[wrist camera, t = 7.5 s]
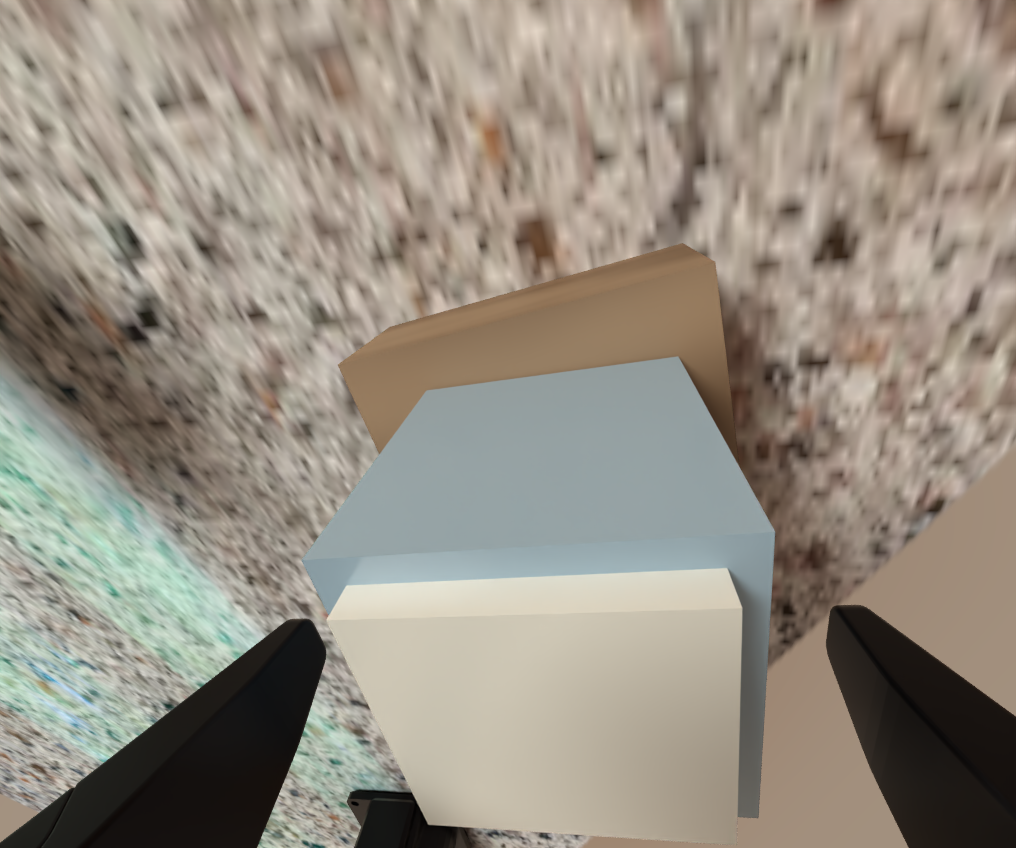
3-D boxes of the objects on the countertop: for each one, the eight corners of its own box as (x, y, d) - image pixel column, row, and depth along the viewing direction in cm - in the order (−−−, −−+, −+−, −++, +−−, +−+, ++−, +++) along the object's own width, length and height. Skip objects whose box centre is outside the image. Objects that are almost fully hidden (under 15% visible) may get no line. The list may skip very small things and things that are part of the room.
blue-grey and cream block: (687, 561, 13) (771, 864, 7) (478, 571, 14) (409, 837, 9) (678, 356, 11) (796, 571, 5) (426, 390, 12) (276, 593, 6)
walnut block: (717, 502, 17) (753, 587, 13) (480, 538, 19) (456, 619, 15) (679, 241, 13) (715, 262, 10) (394, 323, 16) (337, 364, 12)
